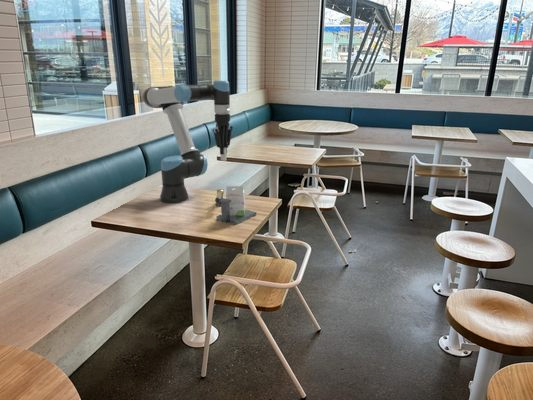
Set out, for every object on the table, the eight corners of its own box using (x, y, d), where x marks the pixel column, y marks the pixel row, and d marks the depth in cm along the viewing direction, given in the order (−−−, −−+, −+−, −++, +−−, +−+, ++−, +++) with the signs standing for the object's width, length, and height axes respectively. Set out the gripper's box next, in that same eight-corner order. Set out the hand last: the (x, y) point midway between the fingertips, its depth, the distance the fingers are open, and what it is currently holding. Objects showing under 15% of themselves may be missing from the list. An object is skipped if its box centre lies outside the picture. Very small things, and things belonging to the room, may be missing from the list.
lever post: (212, 204, 215) (212, 194, 213) (220, 201, 219) (220, 192, 218) (221, 207, 211) (221, 196, 210) (228, 204, 216) (228, 194, 214)
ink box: (245, 212, 199) (245, 183, 194) (244, 216, 194) (243, 186, 189) (228, 212, 200) (227, 183, 195) (226, 215, 195) (225, 186, 190)
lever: (217, 193, 215) (217, 188, 214) (224, 193, 215) (224, 188, 214) (214, 203, 199) (213, 198, 198) (221, 203, 199) (221, 198, 198)
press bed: (214, 220, 193) (213, 198, 189) (237, 210, 207) (237, 189, 203) (233, 225, 186) (232, 203, 183) (256, 214, 200) (256, 193, 197)
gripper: (219, 115, 192) (220, 163, 199) (236, 112, 202) (237, 159, 209) (207, 114, 196) (209, 161, 203) (225, 111, 206) (226, 157, 213)
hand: (223, 160), depth 206 cm, fingers closed
